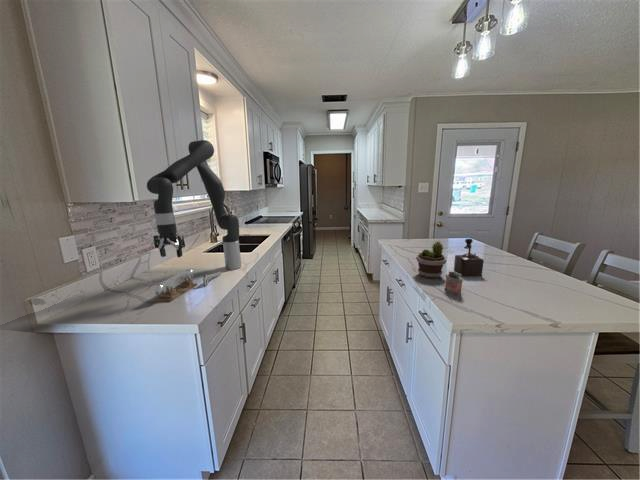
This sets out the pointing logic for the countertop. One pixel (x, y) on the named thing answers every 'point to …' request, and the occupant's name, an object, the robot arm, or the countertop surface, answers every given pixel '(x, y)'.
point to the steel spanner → (173, 281)
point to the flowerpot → (431, 262)
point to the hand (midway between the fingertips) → (171, 256)
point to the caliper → (209, 277)
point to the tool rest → (176, 291)
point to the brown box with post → (468, 263)
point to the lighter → (453, 283)
